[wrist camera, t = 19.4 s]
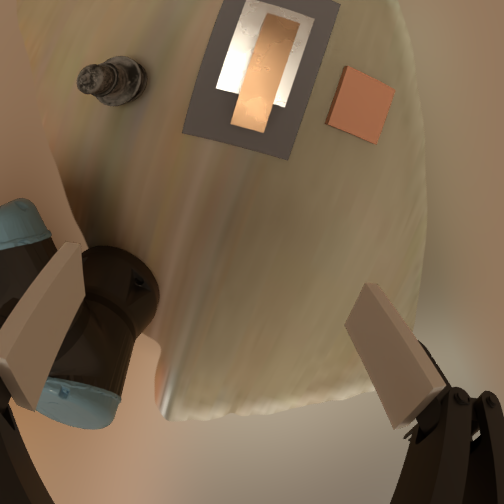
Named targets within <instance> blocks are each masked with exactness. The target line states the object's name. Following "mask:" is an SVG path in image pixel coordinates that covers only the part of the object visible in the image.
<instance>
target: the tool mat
mask: <svg viewBox="0 0 504 504" xmlns="http://www.w3.org/2000/svg"><path fill="white" fill-rule="evenodd" d="M257 1H261V2H265V3H268V4H272V5H275V6H278V7H282V8H285V9H288V10H291V11H294V12H297V13H300V14H303V15H305V16H308V17H311V18H314V19H315V20H314V23H313V26H312V28H311V31H310V34H309V37H308V40H307V43H306V46H305V49H304V52H303V55H302V58H301V61H300V64H299V67H298V69H297V72H296V75H295V78H294V81H293V84H292V87H291V90H290V93H289V96H288V99H287V102H286V105H285V107H282V106H278V105H275V104H273V106H272V109H271V112H270V115H269V118H268V121H267V124H266V127H265V130H264V133H262V132H258V131H255V130H251V129H248V128H244V127H240V126H236V125H233V124H230V121H231V117H232V114H233V111H234V107H235V104H236V101H237V98H238V95H239V94H236V93H233V92H229V91H225V90H220V89H216V87H217V83H218V80H219V77H220V74H221V70H222V67H223V64H224V61H225V58H226V55H227V52H228V49H229V46H230V43H231V40H232V38H233V35H234V32H235V29H236V26H237V23H238V21H239V18H240V15H241V13H242V10H243V7H244V5H245V2H246V0H224V1H223V4H222V6H221V9H220V12H219V14H218V17H217V20H216V22H215V25H214V28H213V31H212V34H211V36H210V39H209V42H208V45H207V48H206V51H205V54H204V57H203V60H202V64H201V67H200V70H199V73H198V76H197V80H196V83H195V87H194V90H193V93H192V97H191V101H190V104H189V108H188V112H187V115H186V119H185V123H184V127H183V131H182V133H184V134H188V135H193V136H197V137H202V138H206V139H211V140H215V141H219V142H223V143H227V144H231V145H235V146H239V147H242V148H246V149H250V150H254V151H257V152H261V153H264V154H268V155H271V156H275V157H278V158H281V159H285V160H288V159H289V156H290V153H291V150H292V147H293V144H294V141H295V138H296V136H297V133H298V130H299V127H300V124H301V121H302V118H303V115H304V112H305V109H306V106H307V103H308V100H309V97H310V94H311V91H312V88H313V85H314V82H315V79H316V76H317V73H318V71H319V68H320V65H321V62H322V59H323V56H324V53H325V50H326V47H327V44H328V41H329V38H330V35H331V32H332V29H333V26H334V23H335V20H336V17H337V14H338V11H339V8H340V5H341V4H339V3H336V2H334V1H332V0H257Z"/></svg>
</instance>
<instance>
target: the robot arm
mask: <svg viewBox="0 0 504 504" xmlns="http://www.w3.org/2000/svg"><path fill="white" fill-rule="evenodd" d="M51 235H52V234H51V232H50V231H49V230H47V228H46V226H45V224H44V222H43V220H42V219H41V217H40V215H39V212H38V211H37V208H36V207H35V205H34V204H33V203H32V202H31V201H30V200H27V199H24V198H19V199H15V200H13V201H10V202H8V203H6V204H4V205H2V206H0V504H55V503H54V502H53V500H52V498H51V497H50V495H49V493H48V491H47V490H46V488H45V486H44V484H43V482H42V480H41V478H40V477H39V475H38V473H37V471H36V469H35V467H34V464H33V462H32V460H31V458H30V456H29V454H28V451H27V449H26V447H25V444H24V442H23V440H22V437H21V435H20V432H19V430H18V427H17V424H16V422H15V419H14V416H13V413H12V410H11V408H10V406H9V404H8V403H9V400H10V398H11V396H12V398H13V399H14V401H15V403H16V404H17V405H18V406H21V407H23V408H26V409H28V410H31V411H34V412H35V410H36V411H38V412H40V413H41V414H43V415H45V416H47V417H49V418H51V419H53V420H55V421H57V422H60V423H63V424H66V425H69V426H73V427H77V428H82V429H101V428H104V427H107V426H108V425H110V424H111V422H112V421H113V419H114V417H115V414H116V411H117V407H118V404H119V403H120V402H121V394H122V390H123V386H124V382H125V378H126V374H127V370H128V366H129V362H130V358H131V354H132V350H133V346H134V343H135V340H136V338H137V337H138V336H139V335H140V334H141V333H142V332H143V330H144V329H145V328H146V327H147V326H148V325H149V324H150V322H151V321H152V319H153V318H154V316H155V313H156V310H157V306H158V303H159V289H158V285H157V282H156V280H155V278H154V276H153V275H152V273H151V272H150V270H149V269H148V268H147V267H146V265H145V264H144V263H142V262H141V261H140V260H139V259H138V258H136V257H135V256H133V255H132V254H130V253H128V252H126V251H124V250H121V249H118V248H115V247H109V246H98V247H93V248H90V249H88V250H86V251H84V252H83V253H81V244H80V243H74V242H68V241H66V242H65V243H64V244H63V245H62V247H61V248H60V249H59V250H58V251H57V249H56V247H55V245H54V243H53V241H52V238H51ZM345 327H346V329H347V331H348V333H349V335H350V337H351V339H352V341H353V343H354V345H355V347H356V349H357V352H358V354H359V356H360V358H361V360H362V362H363V364H364V366H365V368H366V370H367V372H368V374H369V376H370V379H371V381H372V383H373V385H374V387H375V389H376V391H377V394H378V396H379V398H380V400H381V402H382V404H383V407H384V409H385V411H386V413H387V415H388V418H389V420H390V422H391V425H392V427H393V429H399V428H403V427H406V426H408V425H409V424H410V423H411V422H412V421H413V420H414V419H415V418H416V420H417V422H418V424H416V425H415V426H414V427H413V428H412V429H411V430H410V431H409V432H408V433H407V434H406V435H405V436H404V439H406V438H407V437H408V436H409V435H411V434H412V436H411V438H410V439H409V440H408V441H410V444H409V448H408V452H407V455H406V458H405V462H404V465H403V468H402V471H401V474H400V477H399V480H398V483H397V486H396V489H395V492H394V494H393V497H392V500H391V502H390V504H504V416H503V412H502V409H501V405H500V402H499V400H498V398H497V397H496V395H495V394H493V393H492V392H490V391H484V392H483V393H482V394H481V395H480V396H479V397H478V398H470V397H469V395H468V394H467V393H466V391H465V390H463V389H462V388H459V387H453V388H452V387H451V385H450V384H449V383H448V380H447V379H446V377H445V376H444V374H443V373H442V371H441V370H440V368H439V366H438V365H437V364H436V362H435V360H434V359H433V358H432V357H431V354H430V353H429V351H428V350H427V348H426V347H425V346H424V345H423V344H422V343H421V342H420V341H419V340H417V339H416V337H415V336H414V334H413V333H412V331H411V330H410V329H409V327H408V326H407V324H406V323H405V321H404V320H403V319H402V317H401V316H400V314H399V313H398V311H397V310H396V309H395V307H394V306H393V304H392V303H391V302H390V300H389V299H388V298H387V296H386V295H385V294H384V292H383V291H382V289H381V288H380V287H379V285H378V284H374V283H365V284H364V286H363V288H362V290H361V292H360V295H359V297H358V299H357V301H356V303H355V305H354V307H353V309H352V311H351V313H350V315H349V317H348V319H347V321H346V323H345ZM478 430H480V434H481V435H480V436H479V437H478V438H477V439H475V440H474V441H473V440H472V436H473V435H474V434H475V433H476V432H478Z"/></svg>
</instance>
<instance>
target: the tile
mask: <svg viewBox="0 0 504 504" xmlns="http://www.w3.org/2000/svg"><path fill="white" fill-rule="evenodd" d="M394 93H395V89H393V88H391V87H389V86H387V85H386V84H384V83H382V82H380V81H378V80H376V79H374V78H372V77H370V76H368V75H366V74H364V73H362V72H360V71H358V70H356V69H354V68H351V67H349V66H345V67H344V69H343V72H342V75H341V78H340V81H339V84H338V87H337V90H336V93H335V96H334V98H333V101H332V104H331V107H330V110H329V113H328V116H327V119H326V122H325V124H328V125H330V126H333V127H335V128H338V129H340V130H343V131H345V132H348V133H350V134H352V135H355V136H357V137H359V138H362V139H364V140H366V141H369V142H371V143H373V144H377V142H378V139H379V136H380V134H381V131H382V128H383V125H384V122H385V120H386V117H387V114H388V111H389V108H390V105H391V102H392V99H393V96H394Z"/></svg>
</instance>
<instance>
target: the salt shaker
mask: <svg viewBox="0 0 504 504" xmlns="http://www.w3.org/2000/svg"><path fill="white" fill-rule="evenodd" d="M146 84H147V75H146V72H145V70H144V68H143V67H142V66H141V65H140V64H138V63H136V62H135V61H134V60H132V59H130V58H129V57H124V56H116V57H113V58H110V59H108V60H107V61H105V62H104V63H101V64H99V65H96V64H92V65H89V66H86V67H85V68H83V69H82V70H81V72H80V73H79V75H78V78H77V87H78V89H79V90H80V91H81V92H83V93H84V94H92V95H93V96H95V97H96V98H97V99H98V100H99V101H100V102H101V103H103V104H105V105H108V106H119V105H122V104H124V103H126V102H130V101H133V100H135V99H136V98H138V97H139V96H140V95H141V94H142V92H143V91H144V89H145V87H146Z"/></svg>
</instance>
